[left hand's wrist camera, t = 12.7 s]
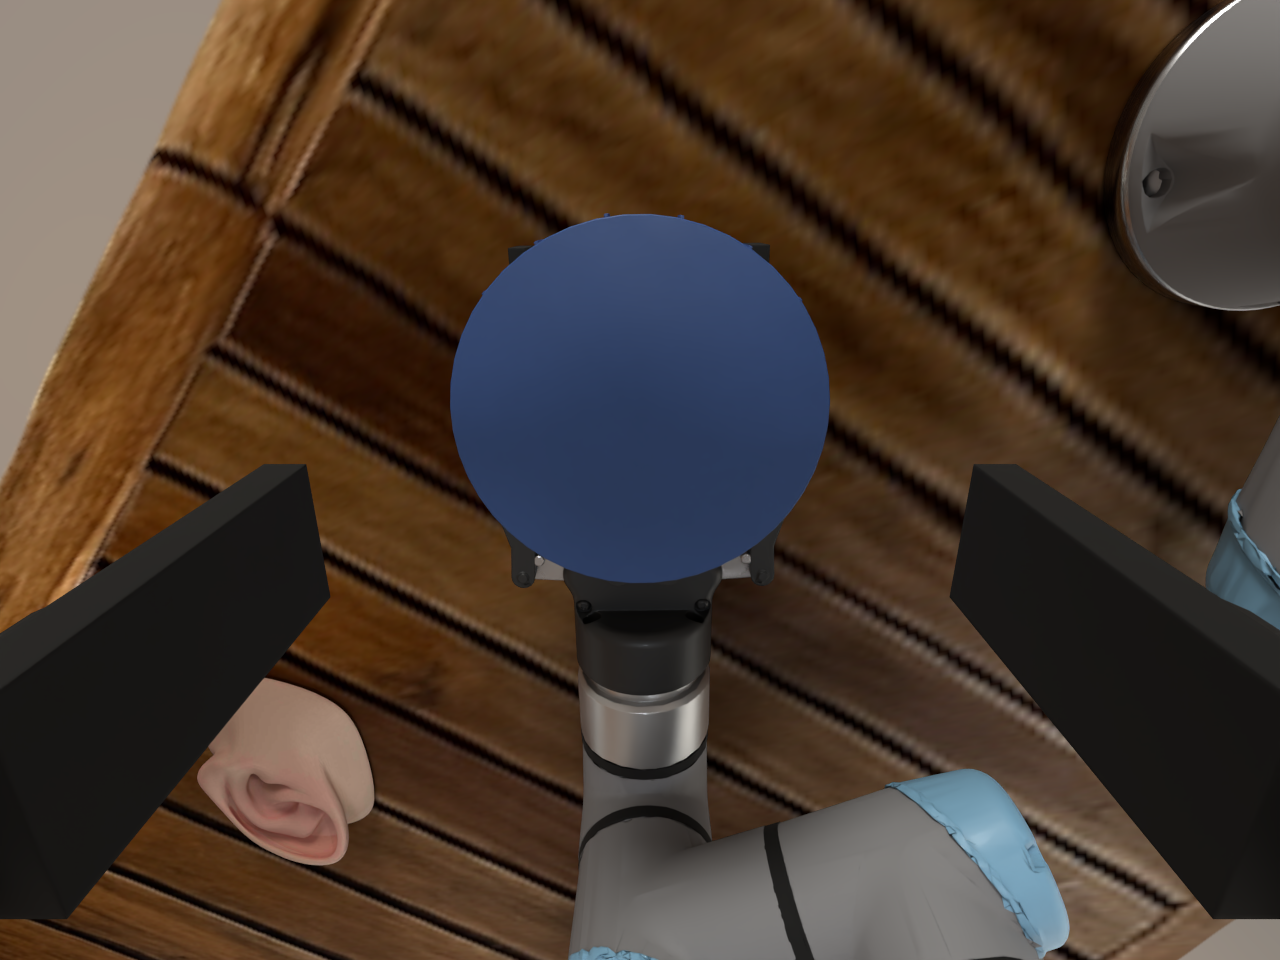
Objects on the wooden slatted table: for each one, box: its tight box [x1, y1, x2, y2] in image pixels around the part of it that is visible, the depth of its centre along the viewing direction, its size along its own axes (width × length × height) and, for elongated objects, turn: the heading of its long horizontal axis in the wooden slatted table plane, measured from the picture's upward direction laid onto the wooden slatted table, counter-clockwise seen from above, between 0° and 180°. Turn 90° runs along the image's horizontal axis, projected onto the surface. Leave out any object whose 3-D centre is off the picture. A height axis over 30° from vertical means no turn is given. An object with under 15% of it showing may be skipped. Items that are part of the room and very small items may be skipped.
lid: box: [450, 214, 830, 583], centre depth 21 cm, size 11×11×2 cm
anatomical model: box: [197, 678, 374, 865], centre depth 47 cm, size 13×4×12 cm
